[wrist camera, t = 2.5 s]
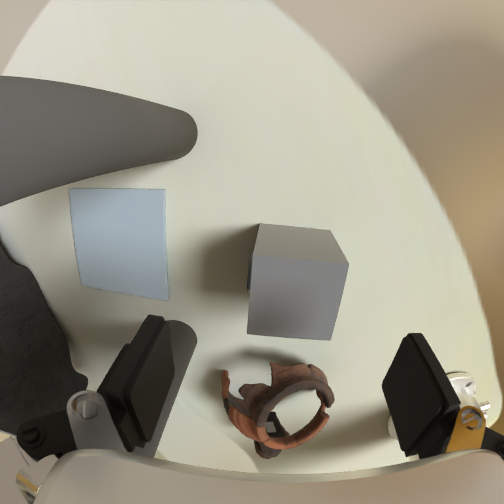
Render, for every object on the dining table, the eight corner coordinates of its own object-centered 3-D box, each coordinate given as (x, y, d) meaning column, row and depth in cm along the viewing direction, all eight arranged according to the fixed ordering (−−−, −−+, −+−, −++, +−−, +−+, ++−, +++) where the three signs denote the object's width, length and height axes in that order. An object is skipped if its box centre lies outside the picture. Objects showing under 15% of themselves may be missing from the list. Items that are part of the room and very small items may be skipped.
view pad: (164, 189, 20) (162, 190, 19) (169, 298, 23) (167, 300, 23) (71, 188, 20) (69, 189, 20) (84, 283, 24) (81, 285, 23)
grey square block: (330, 230, 20) (349, 264, 14) (319, 292, 22) (330, 340, 16) (255, 222, 20) (247, 254, 15) (251, 286, 22) (241, 333, 16)
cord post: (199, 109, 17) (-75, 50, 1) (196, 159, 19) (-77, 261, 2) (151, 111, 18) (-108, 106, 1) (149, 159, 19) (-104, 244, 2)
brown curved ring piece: (210, 343, 25) (240, 389, 17) (300, 328, 29) (352, 358, 21) (219, 437, 26) (246, 488, 19) (295, 417, 30) (334, 456, 22)
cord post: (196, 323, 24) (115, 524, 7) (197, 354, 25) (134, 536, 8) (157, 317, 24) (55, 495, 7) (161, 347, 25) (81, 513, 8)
